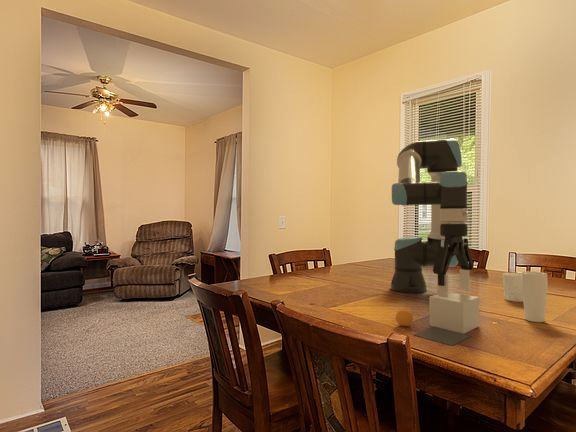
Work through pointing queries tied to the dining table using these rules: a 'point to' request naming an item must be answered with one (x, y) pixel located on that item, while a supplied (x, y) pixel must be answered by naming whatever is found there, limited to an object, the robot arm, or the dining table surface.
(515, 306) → the dining table surface
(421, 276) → the robot arm
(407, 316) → the ball
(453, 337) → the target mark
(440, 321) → the pale grey cube
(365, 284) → the dining table surface
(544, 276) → the drinking glass
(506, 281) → the white cup
